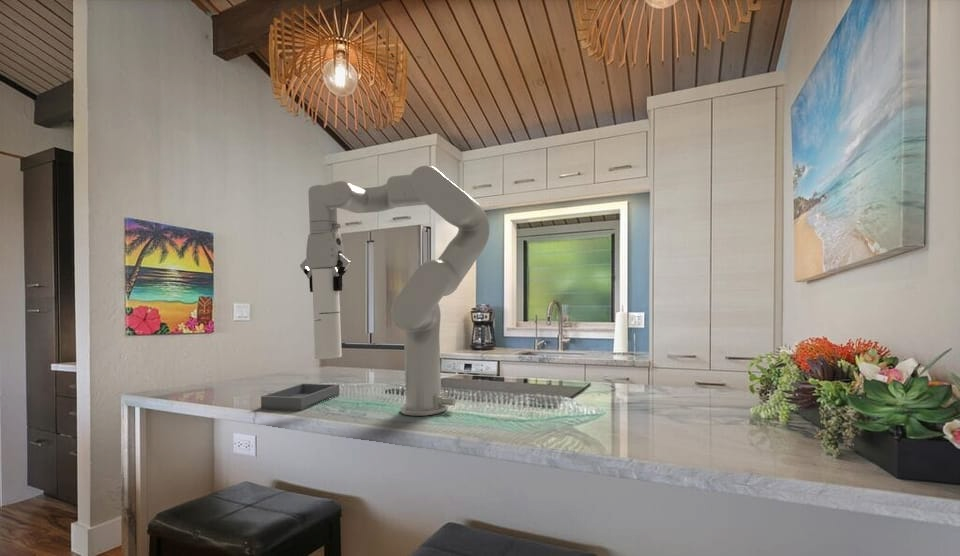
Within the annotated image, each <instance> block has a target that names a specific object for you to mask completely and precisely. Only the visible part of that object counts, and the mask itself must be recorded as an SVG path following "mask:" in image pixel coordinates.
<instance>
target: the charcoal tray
mask: <svg viewBox="0 0 960 556" xmlns="http://www.w3.org/2000/svg"><path fill="white" fill-rule="evenodd" d="M338 395H340V384H331V383H325V384H324V383H301V384H296V385H294V386H289V387H287V388H284V389H281V390H278V391H273V392H271V393H268V394H264V395H262V396H261V395H260V408H269V409H268V410H279V409H284V410H283V411H301V412H302V411H304V410H306V409H307V410H308V409H309V408H312V407H314V405H315V406H317V405H319V404H318V403H320V402H322V401H324V400H327V399H329V398H332V397H335V396H337V397H339V396H338ZM335 398H336V397H335ZM332 399H333V398H332ZM327 401H328V400H327ZM322 403H323V402H322ZM316 404H317V405H316ZM320 404H321V403H320Z"/></svg>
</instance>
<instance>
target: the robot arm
mask: <svg viewBox="0 0 960 556" xmlns="http://www.w3.org/2000/svg"><path fill="white" fill-rule="evenodd" d="M307 194H308V217H309V218H308V219H309V234H308V236H307V240H306V241H307V243H306V251H305V253H306V257H305V259H304V260H303V261H302V262H301V263H300V265H299V266H300V269H301V270H302V271H303V273H304V275H306V277H307V278H308V279H309V281H308V283H309V292H310V293H313V285H312V269H330V268H332V271H333V273H334V275H335V277H333V289H334V291H339V292H342V291H343V277H344V276H345V273H346V272H347V270H348V268H349V267H350V265H351V264H352V262H351V260H349V259H348V258H347V257H346V256H345V249H344V243H343V239H342V235H341V233H340V232H338V230H339V229H340V228H341V227H342V226H341V224H340V223H338V212H337V211H338V209H341V210H344V211H345V210H346V211H348V212H350V213H355V214H367V213H379V212H384V211H389V210H392V209H394V208H395V209H396V208H402V207H414V206H426V205H427V206H428V207H429V208H430V209H431V210H432V211H434V212H435V213H436V214H437V215H439V216H440V217H441V218H442V219H443V220H444V221H446V222H447V223H449V224H450V225H452V226H454V227H455V228H457V229H458V231H457V233H456V235H455V236H454V237H453V238H452V240H450V242H449V243H448V244H447V246H446V247H445V248H444V250H443V252H442V253H441V254H440V256H439V257H438V258H437V259H429V260H427V261H425V262H423V263H421V264H420V266H419V267H418V268H416V270H415V271H414V272H413V274H412V275H411V277H410V278H409V279H408V281H407V282H406V284H405V285H404V287H403V288H402V289H401V291H400V292H399V294H398V295H397V296H396V298H395V299H394V301H393V303H392V306H391V309H390V317H391V320H392V323H393V324H394V326H396V328H398V329H399V330H401V331H404V341H403V342H404V347H403V348H404V353H403V354H404V377H405V378H404V379H405V380H404V381H405V382H404V383H405V403H404V404H403V405H401V407H400V413H401V414H403V415H406V416H413V417H414V416H415V417H416V416H417V417H423V416H432V415H437V414H440V413H441V414H442V413H444V412H446V411H447V410H448V406H455V405H456V397H454V396H446V395H445V394H446V393H445V391H444V390H442V384H441V383H442V380H441V379H442V378H441V357H440V356H441V353H440V352H441V351H440V350H441V349H440V347H441V345H440V331H441V330H440V329H441V317H442V316H441V307H440V305H439V302H440V301H441V299H442V298H443V297H446V296H449V295H452V294H453V293H454V292H455V291H456V290H458V287H459V286H460V284H461V283H462V281H463V280H464V278H465V277H466V275H467V274H468V273H469V271H470V270H471V269H472V266H473V265H474V263H476V260H478V257H479V256H480V255H481V253H482V252H483V251H484V249H485V247H486V245H487V243H488V240H489V236H490V222H489V219H488V216H487V214H486V212H485V211H484V209H483V207H482V205H480V203H478V201H476V199H474V198H472V196H470V195H469V194H468V193H466V191H464V190H462V188H460V187H459V186H457V184H455V183H454V182H452V181H451V180H450V179H449V178H448V177H446V176H445V174H443V173H442V172H441V171H440V170H439V169H437V168H436V167H434V166H432V165H421V166H418V167H416V168H415V169H413V171H412V172H411V173H410V174H401V175H393V176H390V177H389V178H388V179H387V181H386V183H385V184H383V185H380V186H373V187H372V186H371V187H363V188H362V187H359V186H357V185H355V184H352V183H350V182H348V181H345V180H338V181H335V182H331V183H328V184H316V185H312V186H310V187H309V189H308V193H307Z"/></svg>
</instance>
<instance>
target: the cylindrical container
mask: <svg viewBox="0 0 960 556" xmlns="http://www.w3.org/2000/svg"><path fill="white" fill-rule="evenodd" d="M333 277H335V275H334V273H333V271H332V268H330V269H312V285H313V292H312V304H313V305H312V306H313V307H312V308H313V335H314V358H315V360H331V359H338V358H342V355H343V354H342V353H343V351H342V332H341V331H342V330H341V329H342V328H341V305H340V304H341V303H340V291H334V289H333Z"/></svg>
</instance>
